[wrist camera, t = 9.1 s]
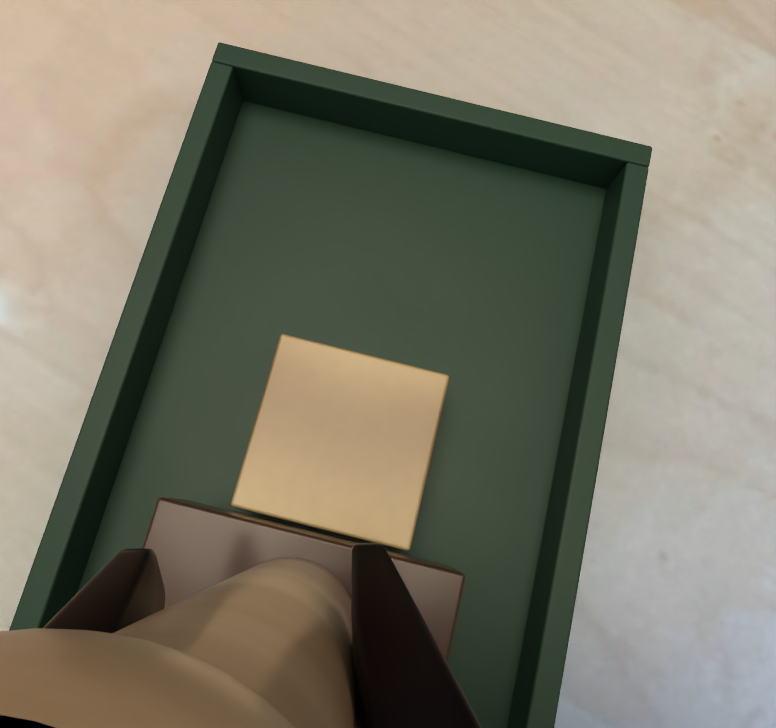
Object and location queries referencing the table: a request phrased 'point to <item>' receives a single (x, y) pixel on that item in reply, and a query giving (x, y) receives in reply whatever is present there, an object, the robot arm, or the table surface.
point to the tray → (375, 337)
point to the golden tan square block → (342, 442)
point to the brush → (218, 634)
